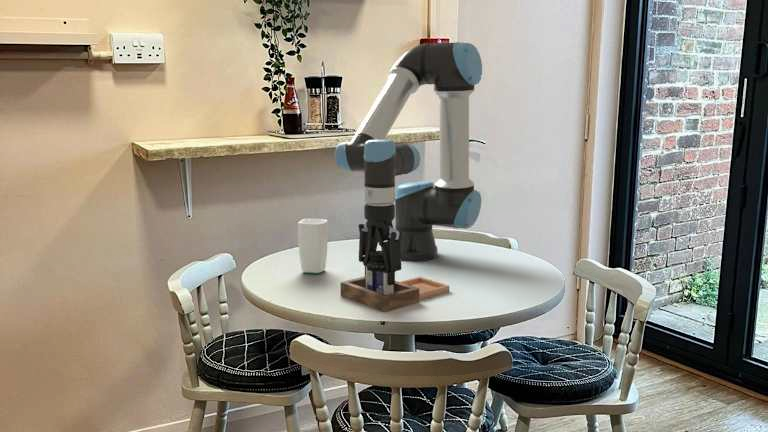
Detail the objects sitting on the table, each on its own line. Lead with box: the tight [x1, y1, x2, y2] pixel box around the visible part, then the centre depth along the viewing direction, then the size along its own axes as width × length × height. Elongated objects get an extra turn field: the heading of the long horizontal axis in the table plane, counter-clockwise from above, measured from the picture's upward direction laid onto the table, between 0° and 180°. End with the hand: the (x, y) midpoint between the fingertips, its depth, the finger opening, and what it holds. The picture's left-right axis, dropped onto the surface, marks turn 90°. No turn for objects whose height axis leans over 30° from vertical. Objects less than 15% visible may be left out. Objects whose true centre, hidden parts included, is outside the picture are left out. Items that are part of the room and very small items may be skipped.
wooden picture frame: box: [339, 275, 420, 313], centre depth 170 cm, size 17×12×4 cm
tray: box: [400, 276, 450, 301], centre depth 177 cm, size 11×11×2 cm
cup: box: [297, 218, 329, 275], centre depth 193 cm, size 7×7×15 cm
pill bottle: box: [367, 250, 391, 294], centre depth 169 cm, size 6×6×11 cm
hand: (379, 293), depth 170 cm, fingers closed on pill bottle, 6 cm apart
